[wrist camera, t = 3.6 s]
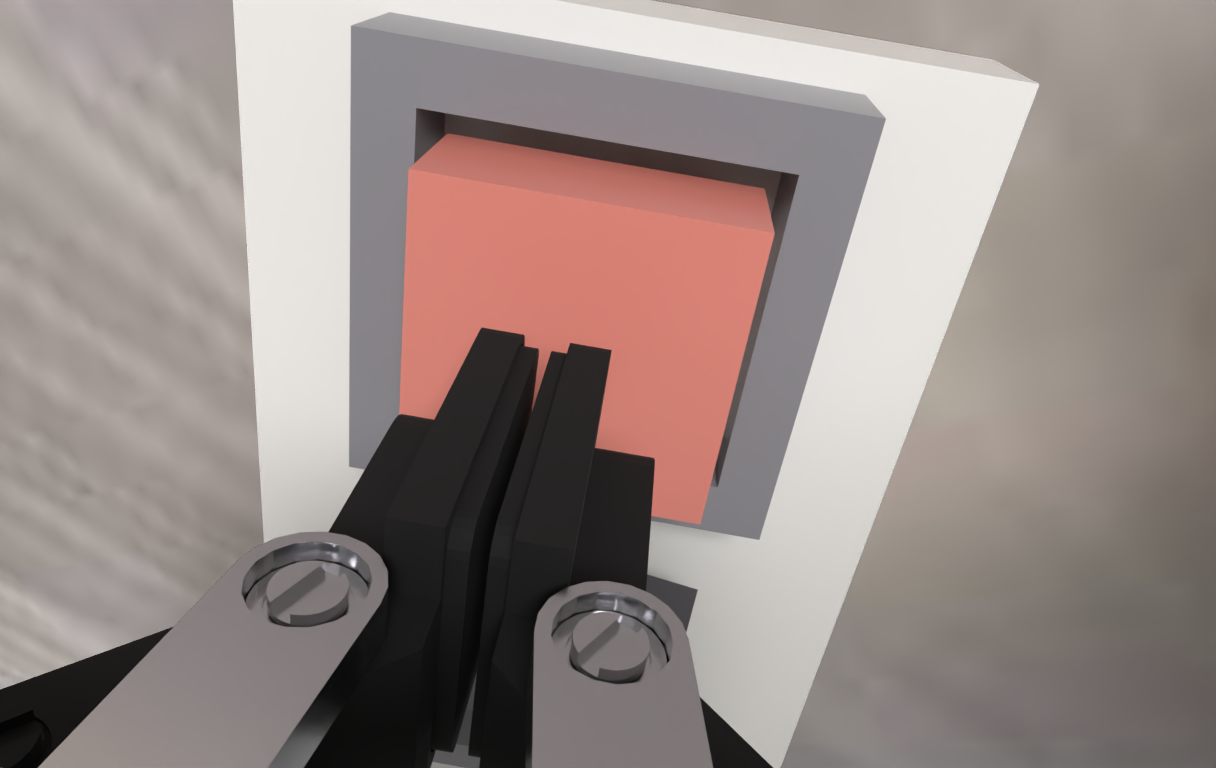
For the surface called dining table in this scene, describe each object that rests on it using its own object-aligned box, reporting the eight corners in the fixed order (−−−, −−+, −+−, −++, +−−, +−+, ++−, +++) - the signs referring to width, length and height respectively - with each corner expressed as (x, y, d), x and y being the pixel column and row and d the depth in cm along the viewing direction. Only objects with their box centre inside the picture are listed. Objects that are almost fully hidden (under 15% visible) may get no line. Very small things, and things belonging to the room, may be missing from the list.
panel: (293, -62, 16) (169, -52, 12) (993, 59, 16) (1083, 107, 12) (314, 775, 28) (253, 911, 24) (717, 848, 28) (720, 997, 24)
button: (447, 132, 14) (408, 169, 12) (764, 188, 14) (774, 233, 12) (431, 405, 16) (396, 470, 14) (700, 453, 16) (699, 524, 14)
